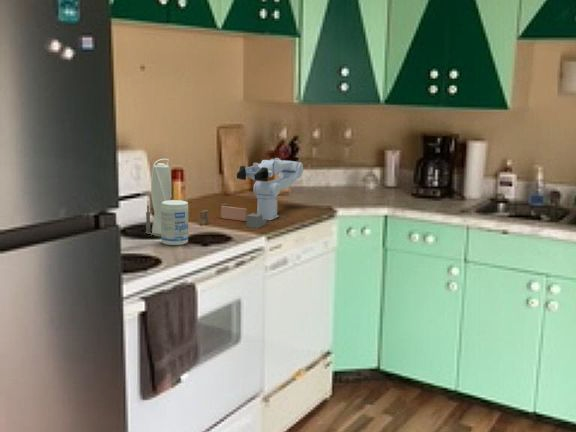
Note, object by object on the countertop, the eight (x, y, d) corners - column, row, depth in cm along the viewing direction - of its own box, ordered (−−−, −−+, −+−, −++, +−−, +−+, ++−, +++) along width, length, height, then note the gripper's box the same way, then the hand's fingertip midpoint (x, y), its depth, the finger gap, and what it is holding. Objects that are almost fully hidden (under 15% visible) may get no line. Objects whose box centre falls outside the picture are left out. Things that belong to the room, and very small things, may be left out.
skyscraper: (159, 230, 254) (158, 157, 248) (176, 232, 251) (176, 159, 245) (144, 234, 247) (143, 159, 241) (162, 237, 243) (161, 161, 237)
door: (220, 218, 278) (221, 206, 277) (222, 217, 279) (222, 205, 278) (245, 221, 274) (245, 209, 273) (246, 220, 275) (246, 208, 274)
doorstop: (256, 223, 272) (256, 211, 271) (266, 224, 270) (266, 212, 269) (246, 227, 264) (246, 215, 263) (256, 229, 262) (257, 216, 261)
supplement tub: (179, 247, 230) (179, 205, 227) (155, 244, 233) (155, 203, 230) (193, 241, 239) (193, 201, 236) (170, 238, 242) (170, 198, 239)
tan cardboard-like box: (224, 216, 283) (224, 203, 282) (227, 216, 283) (227, 203, 282) (199, 225, 265) (200, 211, 264) (203, 225, 264) (203, 212, 263)
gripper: (244, 160, 274) (229, 165, 262) (276, 162, 268) (263, 167, 256) (245, 176, 275) (230, 182, 263) (277, 179, 270) (263, 185, 258)
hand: (246, 176), depth 260 cm, fingers open, 7 cm apart
